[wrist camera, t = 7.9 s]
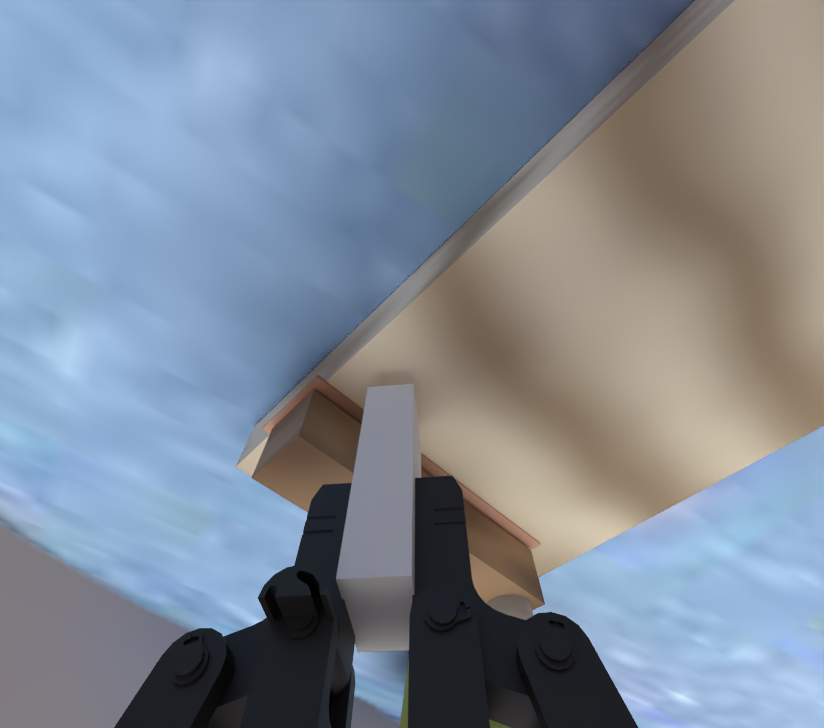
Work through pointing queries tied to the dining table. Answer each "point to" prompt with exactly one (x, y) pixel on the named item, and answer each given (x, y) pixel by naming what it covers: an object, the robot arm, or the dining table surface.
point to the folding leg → (335, 460)
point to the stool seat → (623, 294)
